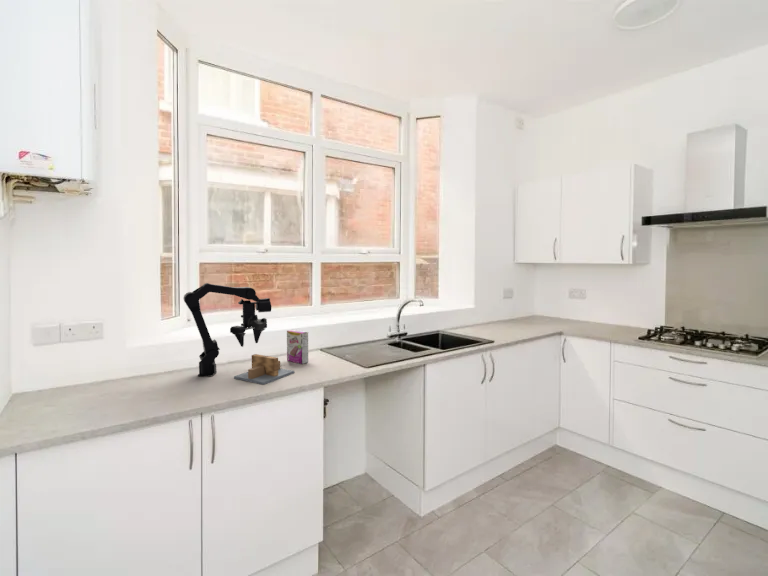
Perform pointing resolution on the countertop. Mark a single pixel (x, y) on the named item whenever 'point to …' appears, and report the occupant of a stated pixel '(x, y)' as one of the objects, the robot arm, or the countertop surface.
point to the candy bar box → (297, 346)
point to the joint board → (262, 375)
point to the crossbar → (266, 363)
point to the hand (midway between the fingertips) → (249, 344)
